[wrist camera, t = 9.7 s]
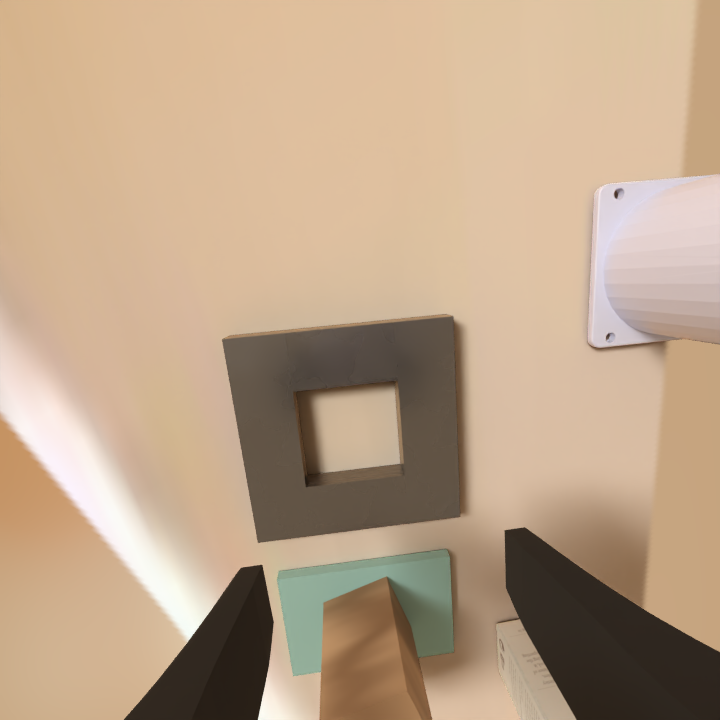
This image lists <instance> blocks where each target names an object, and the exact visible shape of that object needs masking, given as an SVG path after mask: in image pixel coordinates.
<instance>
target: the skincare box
mask: <svg viewBox="0 0 720 720" xmlns="http://www.w3.org/2000/svg"><path fill="white" fill-rule="evenodd" d="M496 629H497V654H498V669H499V673H500V676H501V678H502V680H503V682H504V684H505V686H506V688H507V691H508V693H509V695H510V697H511V699H512V701H513V704H514V706H515V708H516V711H517V713H518V715H519V717H520V719H521V720H576V718H575V716H574V714H573V713H572V711H571V709H570V708H569V706H568V704H567V702H566V701H565V699H564V697H563V695H562V694H561V692H560V690H559V688H558V687H557V685H556V683H555V681H554V680H553V678H552V676H551V674H550V673H549V671H548V669H547V668H546V666H545V664H544V662H543V661H542V659H541V657H540V655H539V654H538V652H537V650H536V648H535V646H534V645H533V643H532V641H531V639H530V638H529V636H528V634H527V632H526V630H525V629H524V627H523V625H522V623H521V620H520V619H518V620H513V621H507V622H502V623H498V624H497V625H496Z"/></svg>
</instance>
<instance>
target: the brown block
mask: <svg viewBox="0 0 720 720" xmlns="http://www.w3.org/2000/svg"><path fill="white" fill-rule="evenodd" d="M320 720H432V717H431V712H430V708H429V704H428V699H427V695H426V690H425V686H424V681H423V677H422V672H421V668H420V663H419V659H418V655H417V650H416V646H415V641H414V637H413V632H412V628H411V625H410V623H409V621H408V619H407V617H406V615H405V613H404V611H403V609H402V607H401V605H400V603H399V601H398V599H397V596H396V594H395V592H394V590H393V588H392V586H391V584H390V582H389V580H388V578H387V576H386V577H384V578H381V579H379V580H376V581H374V582H372V583H369V584H367V585H364V586H362V587H360V588H357V589H355V590H352V591H350V592H348V593H345V594H343V595H340V596H338V597H336V598H333V599H331V600H328V601H326V602H324V603H323V632H322V662H321V693H320Z"/></svg>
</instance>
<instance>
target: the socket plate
mask: <svg viewBox="0 0 720 720" xmlns="http://www.w3.org/2000/svg"><path fill="white" fill-rule="evenodd" d="M222 342H223V347H224V353H225V359H226V364H227V370H228V376H229V381H230V387H231V393H232V398H233V404H234V410H235V415H236V421H237V427H238V432H239V438H240V444H241V449H242V455H243V461H244V466H245V472H246V478H247V483H248V489H249V495H250V500H251V506H252V511H253V517H254V523H255V528H256V534H257V540H258V543H260V542H268V541H275V540H283V539H291V538H299V537H307V536H314V535H322V534H330V533H338V532H346V531H353V530H361V529H369V528H377V527H385V526H392V525H400V524H408V523H416V522H423V521H431V520H439V519H447V518H455V517H460V493H459V465H458V436H457V408H456V379H455V350H454V322H453V316H451V315H447V314H442V315H432V316H422V317H412V318H402V319H392V320H382V321H372V322H362V323H352V324H342V325H332V326H322V327H311V328H301V329H291V330H281V331H271V332H261V333H251V334H241V335H231V336H228V337H226V338H224V339H222ZM388 381H394V382H395V395H396V409H397V423H398V436H399V450H400V464H397V465H389V466H380V467H372V468H364V469H355V470H347V471H339V472H330V473H322V474H314V475H307V468H306V461H305V453H304V446H303V439H302V431H301V424H300V416H299V409H298V402H297V394H296V391H305V390H314V389H324V388H333V387H342V386H351V385H361V384H370V383H379V382H388Z"/></svg>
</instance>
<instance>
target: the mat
mask: <svg viewBox="0 0 720 720" xmlns="http://www.w3.org/2000/svg"><path fill="white" fill-rule="evenodd" d="M386 576H387V578H388V580H389V582H390V584H391V586H392V588H393V590H394V592H395V594H396V596H397V599H398V601H399V603H400V605H401V607H402V609H403V611H404V613H405V615H406V617H407V619H408V621H409V623H410V625H411V628H412V632H413V637H414V641H415V646H416V650H417V655H418V658H420V657H427V656H433V655H440V654H447V653H454V639H453V616H452V593H451V570H450V556H449V553H448V551H447V549H444V550H436V551H429V552H421V553H414V554H406V555H399V556H391V557H383V558H376V559H368V560H361V561H353V562H346V563H338V564H331V565H323V566H316V567H308V568H301V569H293V570H286V571H279V573H278V578H277V582H278V588H279V594H280V600H281V606H282V612H283V618H284V624H285V630H286V636H287V642H288V648H289V654H290V659H291V665H292V671H293V676H298V675H305V674H311V673H318V672H321V662H322V632H323V603H324V602H326V601H328V600H331V599H333V598H336V597H338V596H340V595H343V594H345V593H348V592H350V591H352V590H355V589H357V588H360V587H362V586H364V585H367V584H369V583H372V582H374V581H376V580H379V579H381V578H384V577H386Z"/></svg>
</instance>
